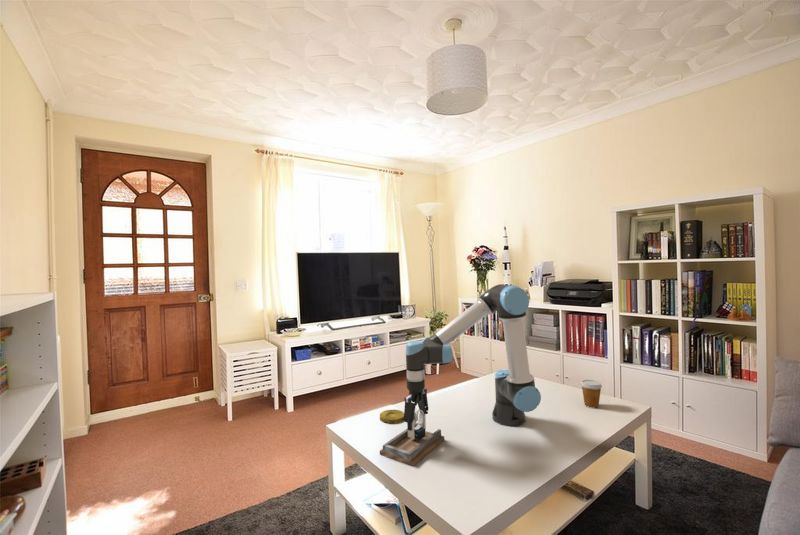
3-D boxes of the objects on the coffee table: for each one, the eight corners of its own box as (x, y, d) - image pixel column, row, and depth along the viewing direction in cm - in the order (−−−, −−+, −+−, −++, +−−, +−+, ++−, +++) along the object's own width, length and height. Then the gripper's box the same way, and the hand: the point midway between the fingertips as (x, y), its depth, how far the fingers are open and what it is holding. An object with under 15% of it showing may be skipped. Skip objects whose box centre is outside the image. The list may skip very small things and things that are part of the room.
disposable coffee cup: (602, 404, 193) (602, 381, 192) (601, 410, 185) (600, 386, 184) (582, 401, 198) (582, 378, 197) (580, 407, 190) (579, 383, 189)
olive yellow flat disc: (400, 425, 176) (400, 420, 176) (376, 422, 179) (376, 418, 179) (407, 415, 187) (407, 410, 187) (384, 412, 191) (384, 408, 190)
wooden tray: (444, 439, 160) (444, 430, 160) (413, 466, 140) (413, 455, 140) (412, 430, 169) (412, 422, 169) (379, 454, 149) (379, 444, 149)
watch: (405, 437, 156) (404, 411, 156) (418, 430, 162) (417, 405, 162) (415, 441, 152) (414, 414, 152) (428, 434, 158) (427, 408, 158)
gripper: (421, 371, 167) (422, 421, 168) (393, 384, 150) (395, 441, 151) (436, 373, 163) (437, 425, 163) (409, 388, 146) (410, 446, 147)
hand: (417, 433), depth 157 cm, fingers closed on watch, 8 cm apart
